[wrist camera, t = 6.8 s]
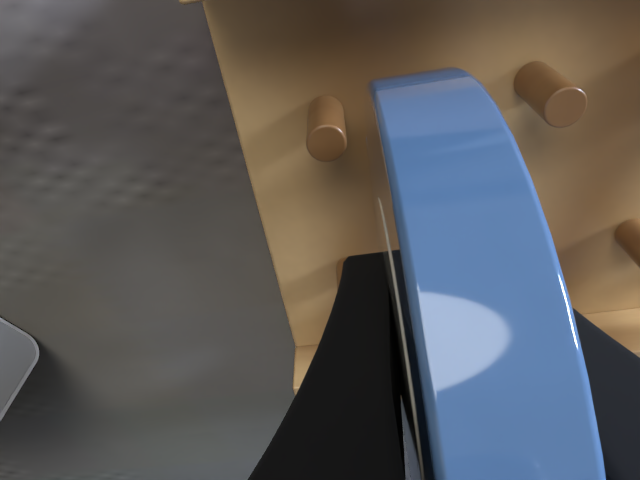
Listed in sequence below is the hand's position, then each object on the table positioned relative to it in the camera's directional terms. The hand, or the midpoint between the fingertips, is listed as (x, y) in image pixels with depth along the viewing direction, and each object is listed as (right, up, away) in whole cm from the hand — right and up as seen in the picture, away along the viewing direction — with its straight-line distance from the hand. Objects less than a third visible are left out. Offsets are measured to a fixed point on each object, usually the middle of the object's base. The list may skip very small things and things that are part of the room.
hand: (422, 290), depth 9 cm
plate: (0, +1, +2) cm, 3 cm away
